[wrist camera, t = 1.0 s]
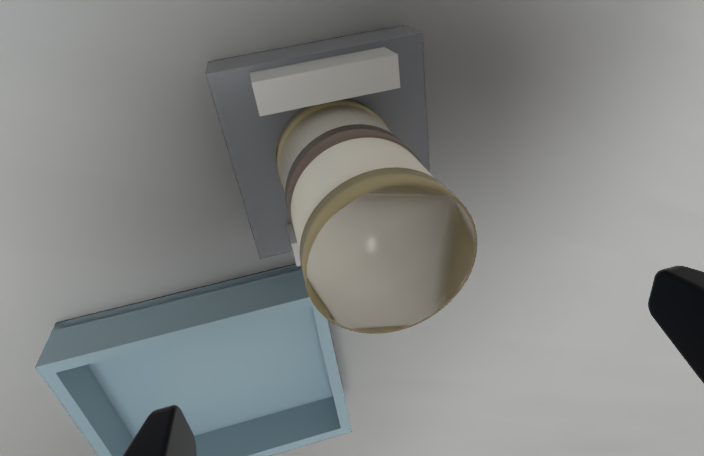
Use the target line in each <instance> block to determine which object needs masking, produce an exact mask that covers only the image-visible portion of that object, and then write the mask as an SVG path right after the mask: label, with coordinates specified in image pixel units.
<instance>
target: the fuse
mask: <svg viewBox="0 0 704 456" xmlns="http://www.w3.org/2000/svg"><path fill="white" fill-rule="evenodd" d="M276 163H277V169H278V173H279V177H280V180H281V183H282V186H283V188H284V191H285V200H286V206H287V210H288V214H289V219H290V223H291V226H292V229H293V232H294V234H295V236H296V239H297V244H298V248H299V252H300V263H301V269H302V273H303V277H304V281H305V285H306V289H307V292H308V295H309V297H310V299H311V301H312V303H313V304H314V306H315V307H316V308H317V310H318V311H319V312H320V313H321V314H322V315H323V316H324V317H325V318H327V319H328V320H329V321H331V322H332V323H334V324H336V325H338V326H340V327H342V328H345V329H348V330H351V331H355V332H360V333H370V334H373V333H388V332H394V331H398V330H402V329H405V328H408V327H411V326H414V325H416V324H418V323H421V322H422V321H424V320H426V319H428V318H430V317H431V316H433V315H434V314H436V313H437V312H439V311H440V310H441V309H442V308H444V307H445V306H446V305H447V304H448V303H449V302H450V301H451V300H452V299H453V298H454V297H455V296H456V295H457V293H458V292H459V291H460V290H461V288H462V287H463V285H464V284H465V282H466V281H467V279H468V277H469V275H470V273H471V270H472V268H473V265H474V262H475V257H476V252H477V234H476V229H475V225H474V223H473V220H472V218H471V216H470V214H469V212H468V211H467V209H466V208H465V207H464V205H463V204H462V203H461V202H460V201H459V200H458V199H457V198H456V197H455V196H454V195H453V194H452V193H451V192H450V190H449V189H448V188H447V187H446V186H445V185H443V184H442V183H441V182H440V181H439V180H437V179H435V178H434V177H433V176H432V175H431V174H430V173H429V171H428V170H427V169H426V168H425V167H424V166H423V164H422V163H421V161H420V160H419V158H418V157H417V156H416V155H415V154H414V153H413V152H412V151H411V150H410V149H409V148H408V147H407V146H406V144H405V143H404V142H403V141H402V140H400V139H399V138H398V137H397V136H396V135H394V134H393V133H392V132H391V131H390V130H389V128H388V127H387V125H386V124H385V123H384V122H383V121H382V119H381V118H380V117H379V116H378V115H377V114H376V113H375V112H374V111H373V110H371V109H370V108H369V107H367V106H366V105H364V104H363V103H360V102H358V101H356V100H352V99H349V98H348V99H343V100H338V101H333V102H328V103H323V104H319V105H314V106H309V107H304V108H301V109H300V110H299V111H297V112H296V113H295V114H294V115H293V116H292V117H291V118H290V119H289V121H288V122H287V123H286V125H285V126H284V128H283V130H282V132H281V134H280V137H279V139H278V143H277V148H276Z"/></svg>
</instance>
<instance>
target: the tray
mask: <svg viewBox="0 0 704 456" xmlns="http://www.w3.org/2000/svg"><path fill="white" fill-rule="evenodd" d="M35 368H36V369H37V371H38V372H39V373H40V375H41V376H42V378H43V379H44V380H45V382H46V383H47V385H48V386H49V388H50V389H51V390H52V392H53V393H54V395H55V396H56V397H57V399H58V400H59V402H60V403H61V404H62V406H63V407H64V409H65V410H66V411H67V413H68V414H69V416H70V417H71V419H72V420H73V421H74V423H75V424H76V426H77V427H78V428H79V430H80V431H81V433H82V434H83V435H84V437H85V438H86V440H87V441H88V442H89V444H90V445H91V447H92V448H93V450H94V451H95V452H96V454H97V455H98V456H123V454H124V453H125V451H126V450H127V448H128V447H129V445H130V443H131V442H132V440H133V439H134V437H135V436H136V434H137V433H138V431H139V429H140V428H141V426H142V425H143V423H144V422H145V420H146V419H147V417H148V416H149V414H150V413H151V412H153V411H154V410H157V409H161V408H164V407H168V406H171V405H177V406H178V407H179V408H180V409H181V411H182V413H183V414H184V416H185V418H186V420H187V422H188V424H189V426H190V428H191V430H192V432H193V434H194V438H195V442H196V452H197V456H271V455H275V454H278V453H281V452H285V451H288V450H291V449H295V448H298V447H301V446H305V445H308V444H312V443H315V442H318V441H322V440H325V439H328V438H332V437H335V436H339V435H342V434H345V433H349V432H352V429H351V425H350V420H349V416H348V411H347V407H346V402H345V398H344V393H343V388H342V384H341V379H340V375H339V370H338V366H337V361H336V357H335V352H334V347H333V343H332V338H331V334H330V329H329V325H328V320H327V318H325V317H324V316H323V315H322V314H321V313H320V312H319V311H318V310H317V308H316V307H315V306H314V304H313V303H312V301H311V299H310V297H309V295H308V292H307V289H306V285H305V281H304V277H303V273H302V269H301V266H298V267H297V266H296V264H294V265H290V266H286V267H282V268H278V269H274V270H270V271H266V272H262V273H258V274H254V275H250V276H246V277H242V278H237V279H233V280H229V281H225V282H221V283H217V284H213V285H209V286H205V287H201V288H197V289H193V290H189V291H185V292H181V293H177V294H173V295H168V296H164V297H160V298H156V299H152V300H148V301H144V302H140V303H136V304H132V305H128V306H124V307H120V308H116V309H112V310H108V311H104V312H100V313H95V314H91V315H87V316H83V317H79V318H75V319H71V320H67V321H63V322H59V323H56V324H55V326H54V328H53V330H52V332H51V335H50V337H49V339H48V341H47V343H46V345H45V347H44V350H43V352H42V354H41V356H40V358H39V360H38V362H37V364H36V367H35Z"/></svg>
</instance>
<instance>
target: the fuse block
mask: <svg viewBox="0 0 704 456" xmlns="http://www.w3.org/2000/svg"><path fill="white" fill-rule="evenodd" d="M206 77H207V80H208V84H209V87H210V90H211V94H212V97H213V101H214V104H215V107H216V111H217V114H218V118H219V121H220V124H221V128H222V131H223V135H224V138H225V141H226V145H227V148H228V152H229V155H230V158H231V162H232V165H233V169H234V172H235V175H236V179H237V182H238V186H239V189H240V192H241V196H242V199H243V203H244V206H245V209H246V213H247V216H248V220H249V223H250V227H251V230H252V233H253V237H254V240H255V244H256V247H257V250H258V254H259V257H260V259H262V258H266V257H270V256H274V255H278V254H282V253H287V252H291V251H293V254H294V258H295V262H296V266H297V267H298V266H301V263H300V252H299V248H298V244H297V239H296V236H295V234H294V232H293V229H292V226H291V223H290V219H289V214H288V210H287V206H286V200H285V191H284V188H283V186H282V183H281V180H280V177H279V173H278V169H277V163H276V148H277V143H278V139H279V137H280V134H281V132H282V130H283V128H284V126H285V125H286V123H287V122H288V121H289V119H290V118H291V117H292V116H293V115H294V114H295V113H296V112H297V111H299V110H300V109H301V108H304V107H309V106H314V105H319V104H323V103H328V102H333V101H338V100H343V99H348V98H349V99H352V100H356V101H358V102H360V103H363V104H364V105H366V106H367V107H369V108H370V109H371V110H373V111H374V112H375V113H376V114H377V115H378V116H379V117H380V118H381V119H382V121H383V122H384V123H385V124H386V125H387V127H388V128H389V130H390V131H391V132H392V133H393V134H394V135H396V136H397V137H398V138H399V139H400V140H402V141H403V142H404V143H405V144H406V146H407V147H408V148H409V149H410V150H411V151H412V152H413V153H414V154H415V155H416V156H417V157H418V158H419V160H420V161H421V163H422V164H423V166H424V167H425V168H426V169H427V170H428V171H429V152H428V134H427V116H426V97H425V79H424V60H423V42H422V33H421V32H418V31H416V30H413V29H410V28H408V27H405V26H397V27H392V28H387V29H381V30H376V31H371V32H365V33H360V34H355V35H349V36H344V37H339V38H333V39H328V40H322V41H317V42H312V43H306V44H301V45H296V46H290V47H285V48H280V49H274V50H269V51H264V52H258V53H253V54H248V55H242V56H237V57H232V58H226V59H221V60H216V61H210V62H208V64H207V70H206ZM429 173H430V171H429Z"/></svg>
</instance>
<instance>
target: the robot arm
mask: <svg viewBox="0 0 704 456" xmlns="http://www.w3.org/2000/svg"><path fill="white" fill-rule="evenodd" d="M648 307H649V311H650V313H651V315H652V316H653V318H654V319H655V320H656V322H657V323H658V324H659V326H660V327H661V328H662V330H663V331H664V332H665V334H666V335H667V336H668V337H669V339H670V340H671V341H672V343H673V344H674V345H675V347H676V348H677V349H678V351H679V352H680V353H681V355H682V356H683V357H684V359H685V360H686V361H687V362H688V364H689V365H690V366H691V368H692V369H693V370H694V372H695V373H696V374H697V375H698V377H699V378H700V379H701V380H702V382H703V383H704V272H701V271H698V270H695V269H691V268H688V267H684V266H674V267H670V268H667V269H663V270H660V271H658V273H657V274H656V275H655V278H654V282H653V286H652V290H651V294H650V297H649V302H648ZM123 456H197V452H196V442H195V438H194V434H193V432H192V430H191V428H190V426H189V424H188V422H187V420H186V418H185V416H184V414H183V413H182V411H181V409H180V408H179V407H178V406H177V405H171V406H168V407H164V408H161V409H157V410H154V411H153V412H151V413H150V414H149V416H148V417H147V419H146V420H145V422H144V423H143V425H142V426H141V428H140V429H139V431H138V433H137V434H136V436H135V437H134V439H133V440H132V442H131V443H130V445H129V447H128V448H127V450H126V451H125V453H124V454H123Z"/></svg>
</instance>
